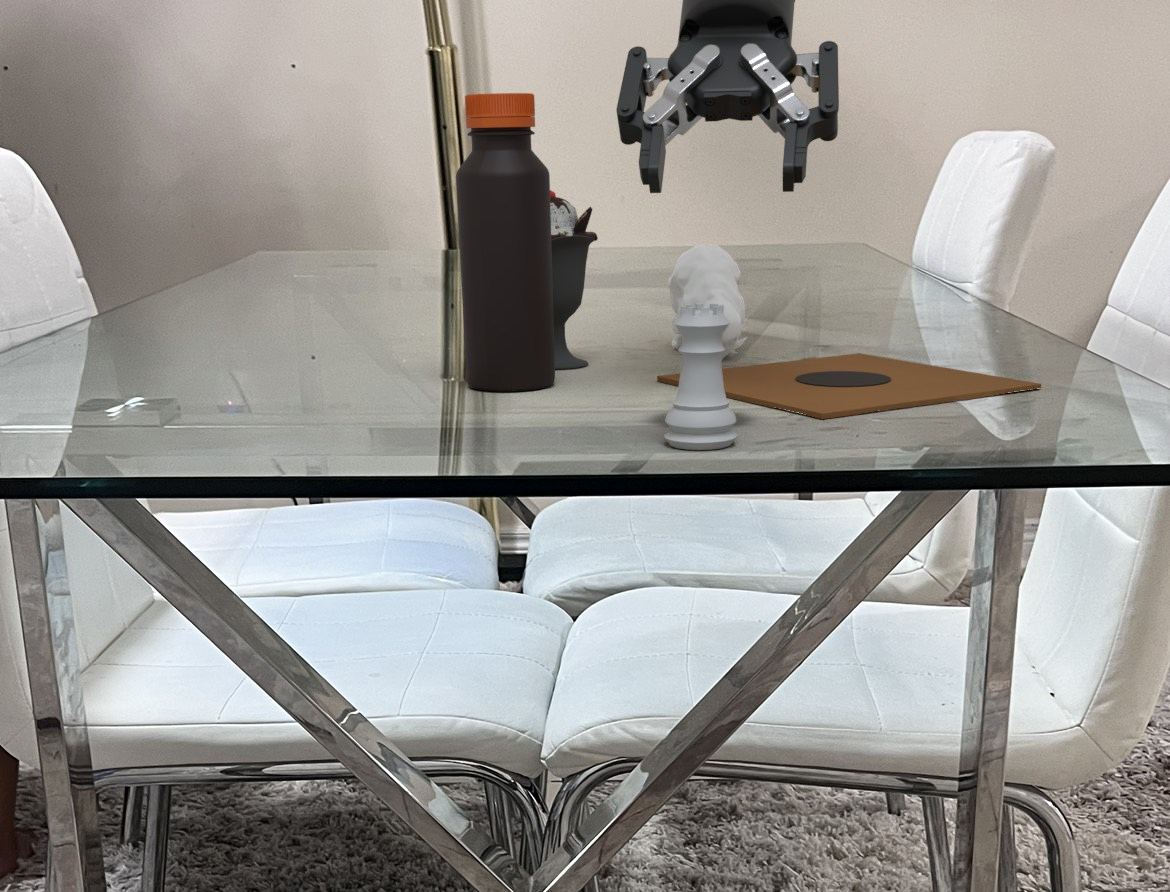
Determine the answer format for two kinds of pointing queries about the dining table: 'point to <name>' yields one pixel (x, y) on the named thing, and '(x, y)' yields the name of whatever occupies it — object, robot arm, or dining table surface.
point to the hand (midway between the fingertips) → (720, 183)
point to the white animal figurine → (708, 289)
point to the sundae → (567, 271)
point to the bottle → (505, 248)
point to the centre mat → (855, 385)
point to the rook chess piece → (701, 383)
